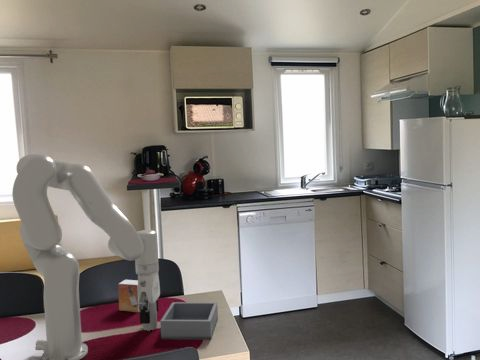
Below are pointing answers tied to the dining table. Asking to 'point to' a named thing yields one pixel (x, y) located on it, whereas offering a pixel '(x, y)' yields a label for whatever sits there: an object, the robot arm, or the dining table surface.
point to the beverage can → (151, 317)
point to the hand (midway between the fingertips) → (149, 317)
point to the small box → (128, 296)
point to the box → (189, 321)
